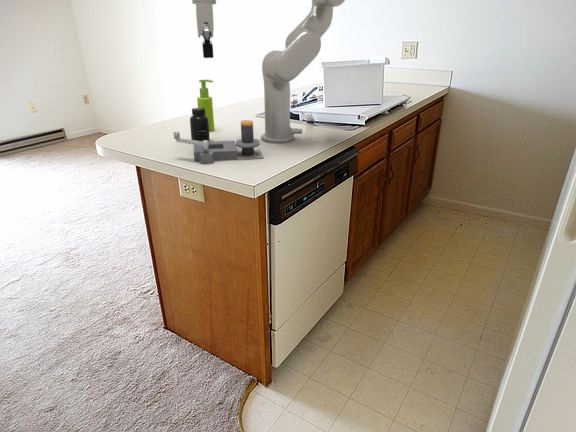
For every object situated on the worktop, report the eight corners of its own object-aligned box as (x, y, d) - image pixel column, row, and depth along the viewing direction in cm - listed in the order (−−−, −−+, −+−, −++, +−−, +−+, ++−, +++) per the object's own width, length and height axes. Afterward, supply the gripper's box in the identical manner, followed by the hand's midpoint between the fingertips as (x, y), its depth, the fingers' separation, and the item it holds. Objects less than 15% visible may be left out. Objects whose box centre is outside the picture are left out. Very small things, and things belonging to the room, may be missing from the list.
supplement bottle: (201, 144, 152) (198, 111, 147) (187, 141, 156) (184, 109, 151) (213, 140, 158) (211, 108, 153) (200, 137, 161) (197, 106, 156)
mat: (260, 150, 146) (260, 149, 145) (263, 158, 138) (263, 157, 137) (234, 152, 144) (234, 150, 144) (236, 160, 136) (236, 158, 136)
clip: (177, 146, 138) (175, 131, 135) (210, 151, 133) (208, 135, 131) (174, 148, 136) (172, 132, 134) (207, 153, 132) (205, 137, 129)
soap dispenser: (213, 132, 168) (210, 81, 160) (197, 131, 169) (193, 80, 161) (218, 129, 173) (215, 79, 165) (203, 128, 175) (199, 78, 166)
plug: (258, 149, 145) (257, 118, 140) (261, 156, 138) (260, 124, 133) (235, 151, 144) (233, 119, 139) (237, 158, 137) (235, 125, 132)
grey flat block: (235, 149, 147) (234, 140, 146) (238, 161, 134) (238, 152, 133) (195, 151, 145) (194, 142, 144) (194, 164, 132) (193, 155, 131)
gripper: (192, -1, 139) (197, 54, 146) (191, -3, 123) (196, 59, 131) (215, 0, 140) (218, 54, 147) (216, -2, 125) (220, 58, 132)
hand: (208, 56), depth 139 cm, fingers open, 9 cm apart
